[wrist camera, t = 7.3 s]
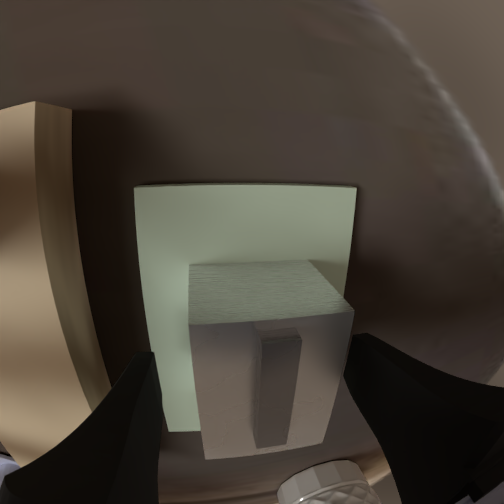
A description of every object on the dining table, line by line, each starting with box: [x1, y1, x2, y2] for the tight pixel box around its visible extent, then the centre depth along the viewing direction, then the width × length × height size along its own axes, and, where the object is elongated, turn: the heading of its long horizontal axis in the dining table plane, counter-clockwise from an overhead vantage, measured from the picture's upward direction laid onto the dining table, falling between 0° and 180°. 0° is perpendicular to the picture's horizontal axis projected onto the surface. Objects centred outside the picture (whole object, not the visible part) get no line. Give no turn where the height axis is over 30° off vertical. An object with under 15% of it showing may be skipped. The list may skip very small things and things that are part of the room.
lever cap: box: [188, 259, 355, 459], centre depth 10 cm, size 6×4×5 cm
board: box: [134, 183, 357, 432], centre depth 13 cm, size 12×8×1 cm, turn 178°
